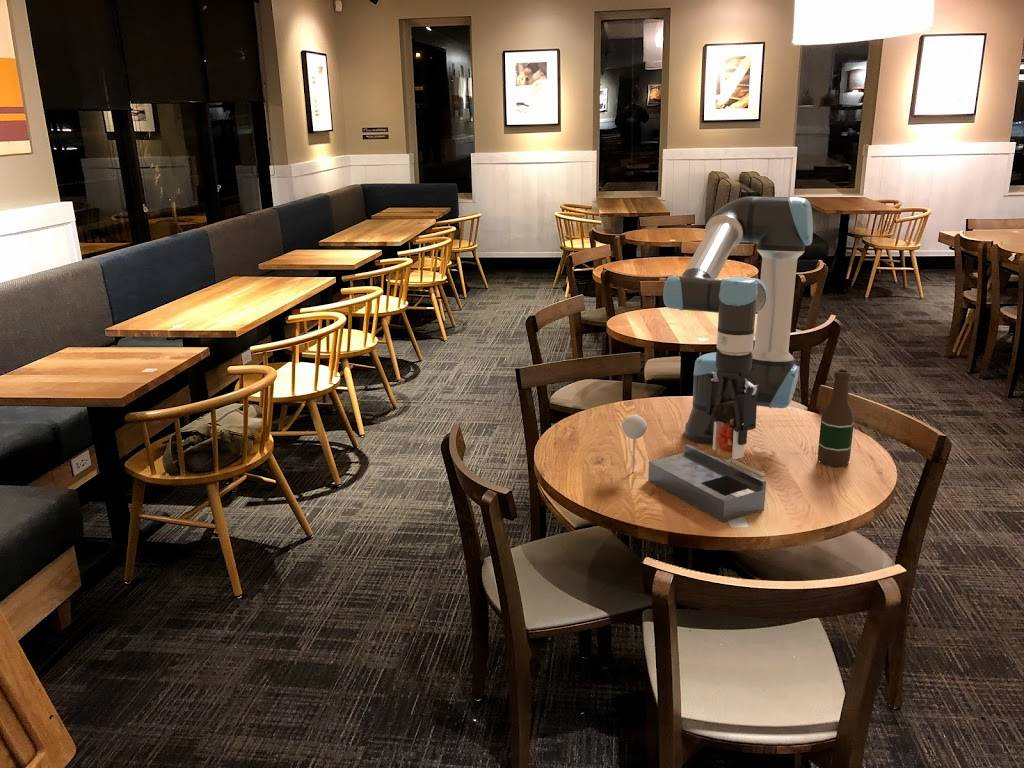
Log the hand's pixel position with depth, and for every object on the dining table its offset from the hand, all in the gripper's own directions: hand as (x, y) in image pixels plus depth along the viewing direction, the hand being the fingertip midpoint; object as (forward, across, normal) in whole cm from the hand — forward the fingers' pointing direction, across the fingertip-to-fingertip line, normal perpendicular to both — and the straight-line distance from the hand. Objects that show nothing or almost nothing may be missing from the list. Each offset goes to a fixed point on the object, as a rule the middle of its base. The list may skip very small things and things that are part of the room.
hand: (727, 452), depth 180 cm
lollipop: (+13, -26, -6) cm, 30 cm away
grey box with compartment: (+13, -7, 0) cm, 15 cm away
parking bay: (+13, -13, +14) cm, 23 cm away
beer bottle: (+13, -5, +41) cm, 43 cm away
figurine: (+1, 0, 0) cm, 1 cm away
